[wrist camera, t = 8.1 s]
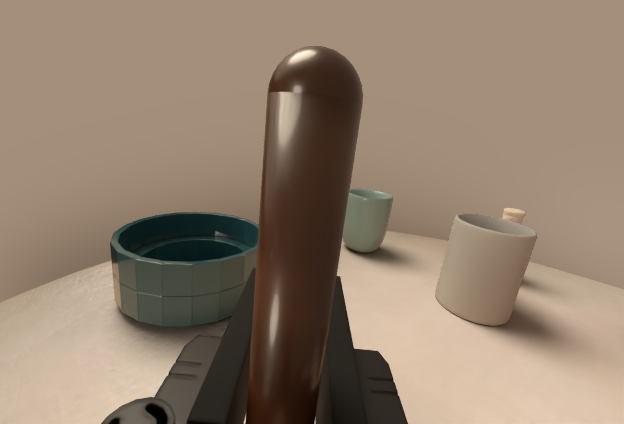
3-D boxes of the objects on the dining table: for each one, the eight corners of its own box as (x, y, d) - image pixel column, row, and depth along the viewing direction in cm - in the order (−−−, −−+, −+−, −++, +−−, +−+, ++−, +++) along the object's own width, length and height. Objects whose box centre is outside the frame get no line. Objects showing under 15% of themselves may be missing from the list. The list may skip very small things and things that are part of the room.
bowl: (83, 336, 25) (74, 261, 23) (148, 258, 39) (145, 208, 37) (262, 332, 28) (268, 266, 26) (261, 261, 42) (265, 215, 40)
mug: (509, 337, 31) (542, 243, 28) (428, 305, 35) (449, 221, 33) (508, 293, 41) (532, 220, 38) (444, 272, 45) (462, 205, 42)
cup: (390, 250, 52) (400, 196, 49) (368, 261, 46) (378, 201, 43) (354, 236, 57) (362, 187, 54) (329, 245, 51) (337, 190, 48)
